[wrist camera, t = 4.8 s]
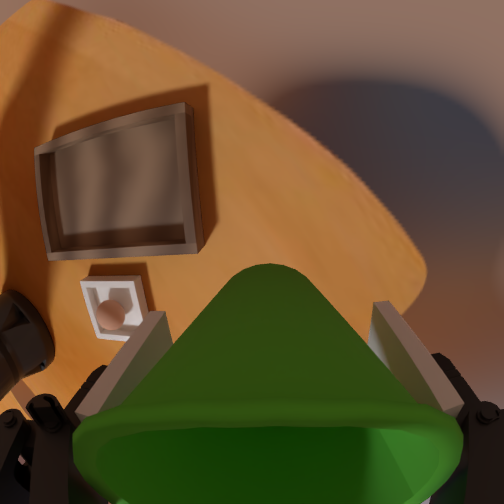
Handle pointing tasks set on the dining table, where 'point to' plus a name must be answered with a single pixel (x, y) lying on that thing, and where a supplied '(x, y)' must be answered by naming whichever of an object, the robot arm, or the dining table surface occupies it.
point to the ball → (110, 314)
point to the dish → (123, 292)
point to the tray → (122, 188)
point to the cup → (268, 412)
